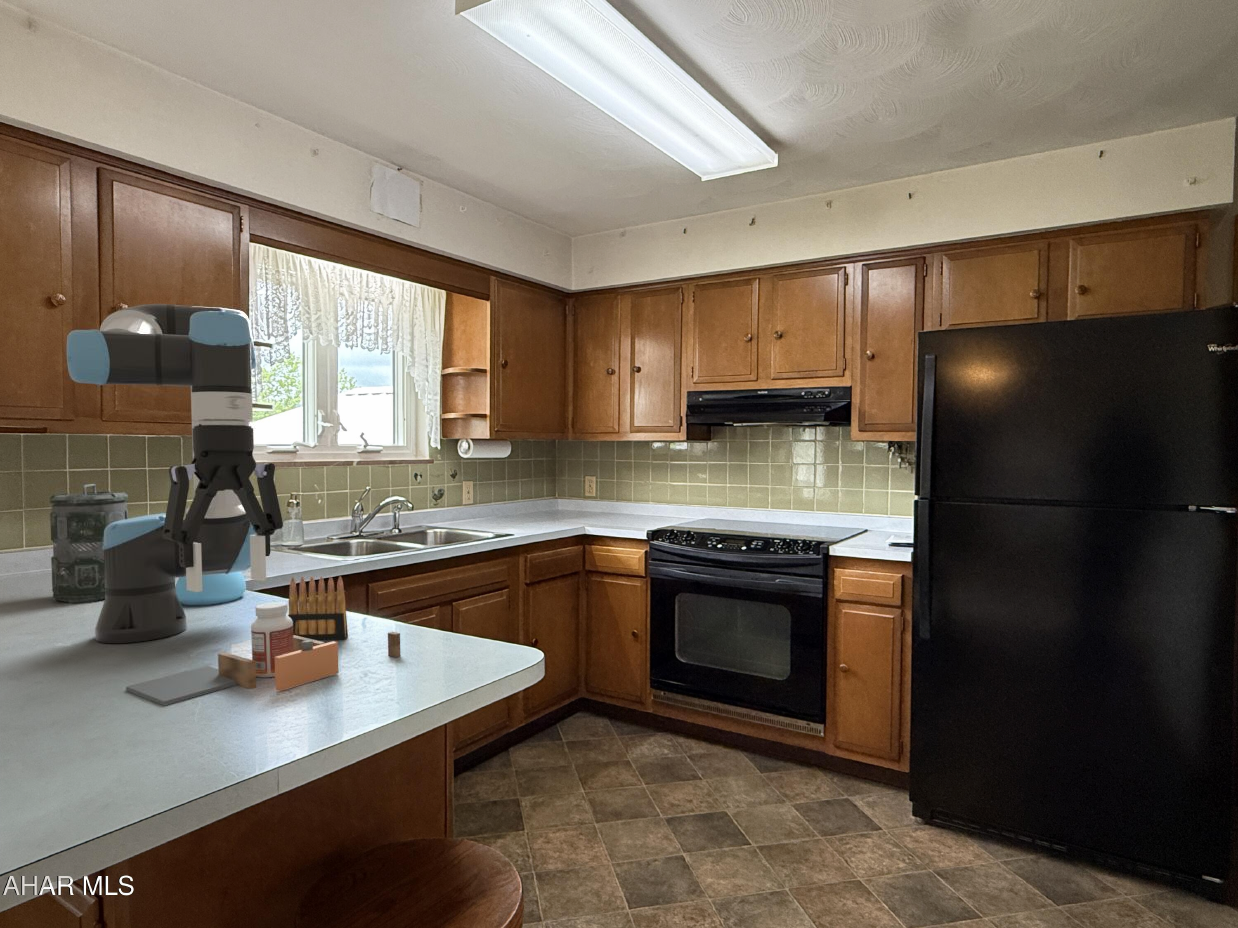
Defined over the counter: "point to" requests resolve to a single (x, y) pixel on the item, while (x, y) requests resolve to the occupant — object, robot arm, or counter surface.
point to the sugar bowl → (212, 589)
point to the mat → (182, 685)
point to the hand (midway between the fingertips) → (227, 584)
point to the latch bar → (306, 665)
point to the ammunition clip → (318, 611)
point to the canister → (82, 542)
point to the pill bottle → (271, 636)
